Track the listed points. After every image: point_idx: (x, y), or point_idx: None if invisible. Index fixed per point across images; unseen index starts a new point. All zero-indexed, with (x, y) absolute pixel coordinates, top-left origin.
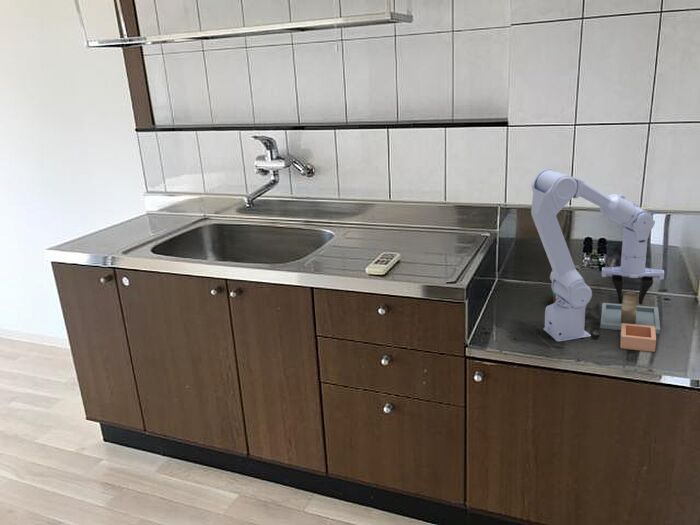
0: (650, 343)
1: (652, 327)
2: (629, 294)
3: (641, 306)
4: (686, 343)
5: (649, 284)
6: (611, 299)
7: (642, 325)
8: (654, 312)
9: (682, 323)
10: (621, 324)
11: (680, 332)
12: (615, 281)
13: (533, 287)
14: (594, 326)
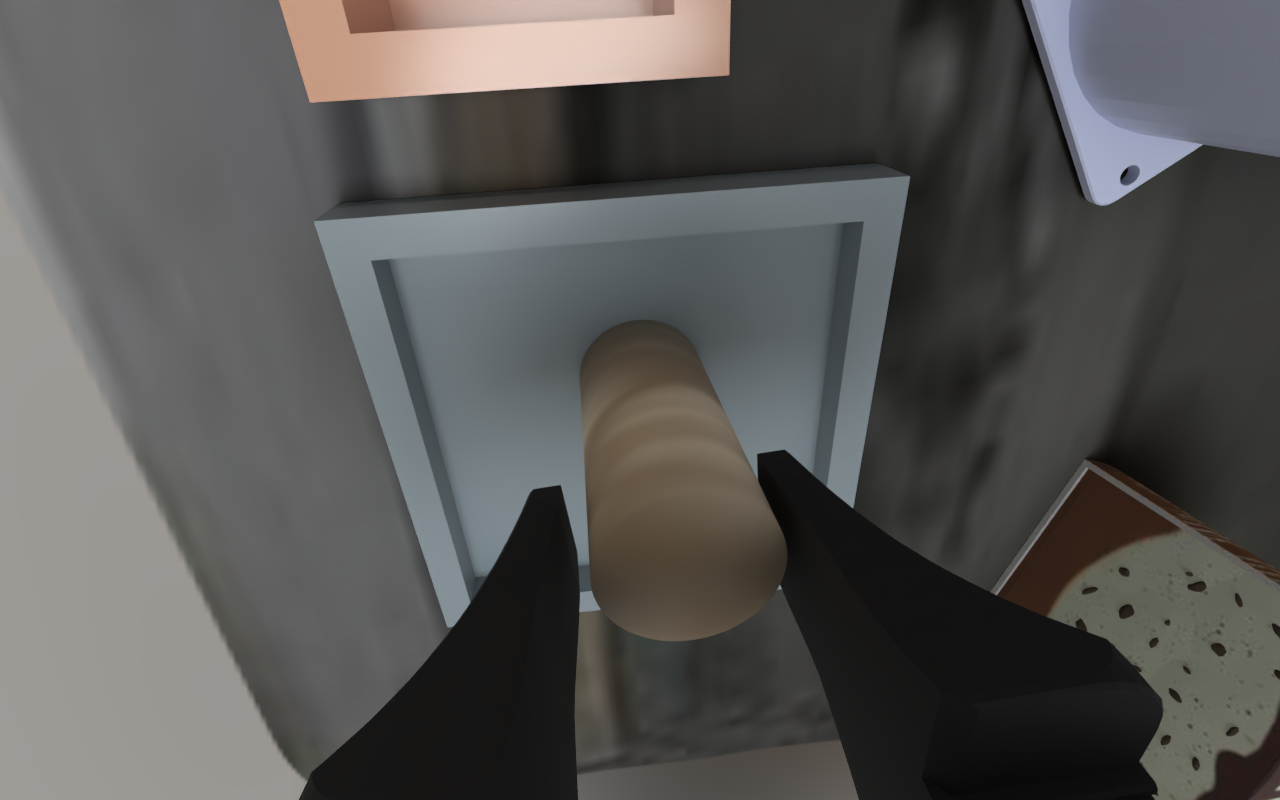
0: None
1: (327, 45)
2: (695, 572)
3: None
4: (43, 106)
5: (350, 776)
6: (755, 667)
7: (465, 76)
8: (453, 547)
9: (246, 497)
10: (727, 51)
11: (198, 340)
12: (1126, 685)
13: None
14: (916, 231)
